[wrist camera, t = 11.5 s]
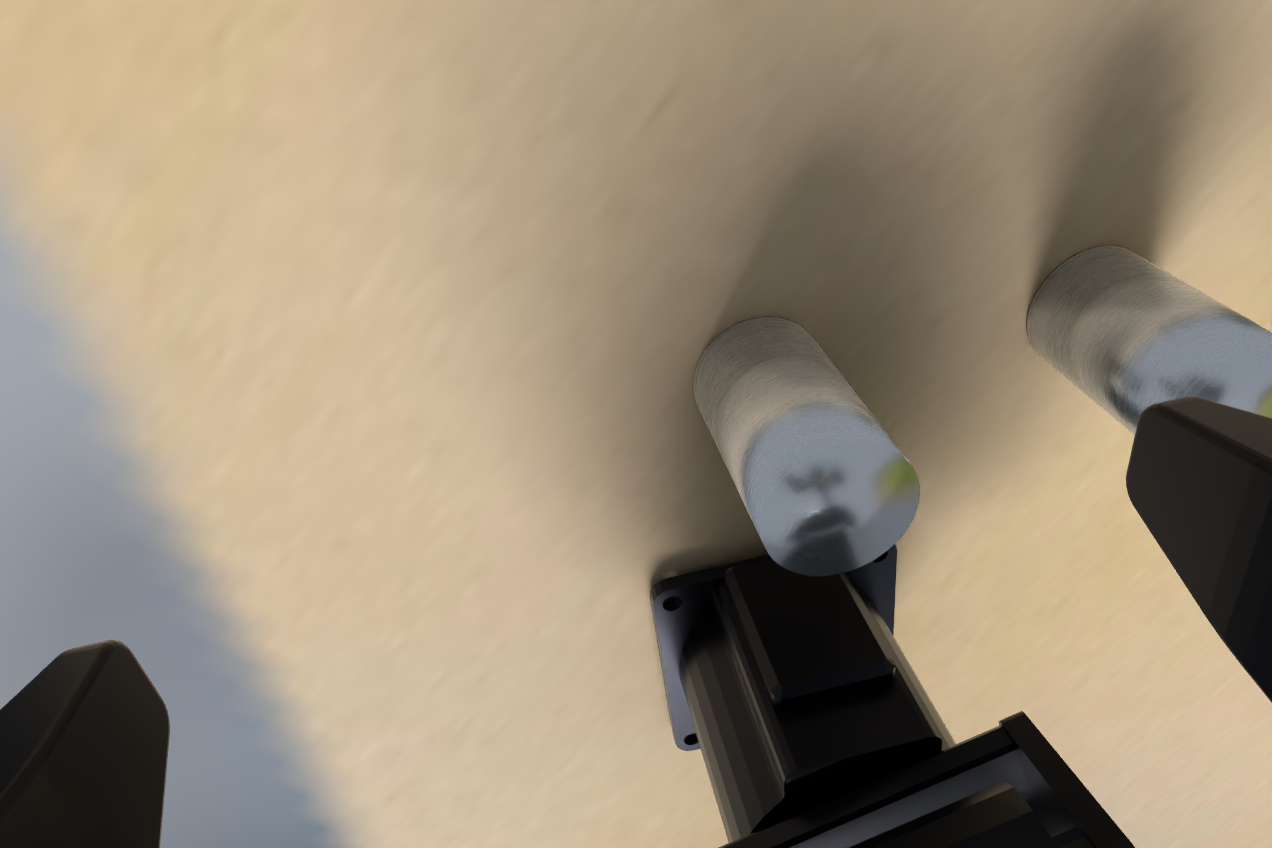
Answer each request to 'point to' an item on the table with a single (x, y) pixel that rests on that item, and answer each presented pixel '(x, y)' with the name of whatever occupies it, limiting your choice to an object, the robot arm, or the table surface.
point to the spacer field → (872, 463)
